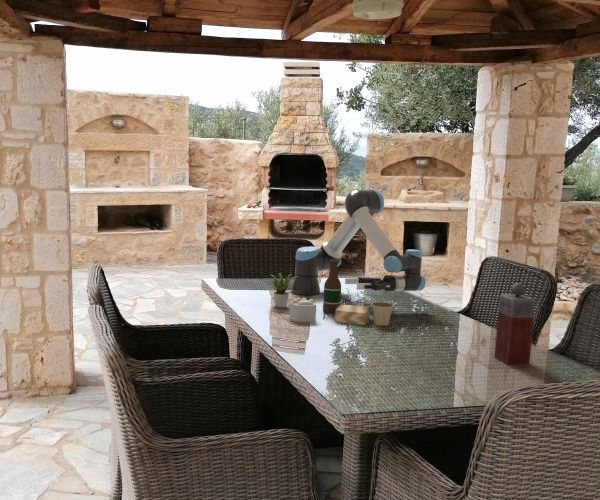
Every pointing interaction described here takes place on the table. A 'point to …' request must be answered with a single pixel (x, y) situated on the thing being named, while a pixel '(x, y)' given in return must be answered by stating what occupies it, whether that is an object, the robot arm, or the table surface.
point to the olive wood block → (352, 314)
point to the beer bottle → (332, 289)
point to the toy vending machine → (514, 327)
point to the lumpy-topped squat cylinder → (302, 310)
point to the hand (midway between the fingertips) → (351, 283)
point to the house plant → (281, 291)
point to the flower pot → (382, 313)
